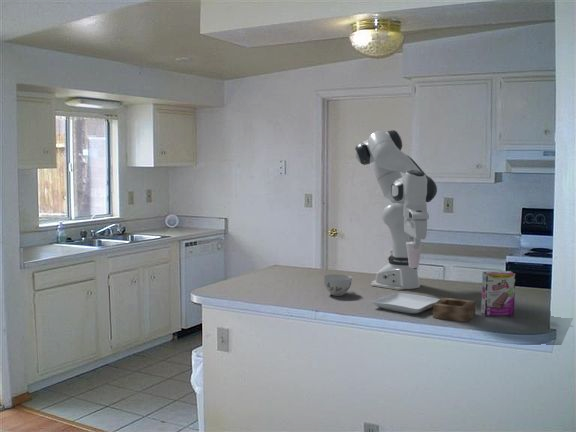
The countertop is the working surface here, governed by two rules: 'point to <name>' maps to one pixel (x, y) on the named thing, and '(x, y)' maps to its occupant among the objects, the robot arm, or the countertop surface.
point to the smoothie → (413, 254)
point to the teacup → (337, 283)
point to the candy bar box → (498, 293)
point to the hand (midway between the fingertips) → (413, 247)
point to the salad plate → (405, 303)
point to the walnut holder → (454, 309)
